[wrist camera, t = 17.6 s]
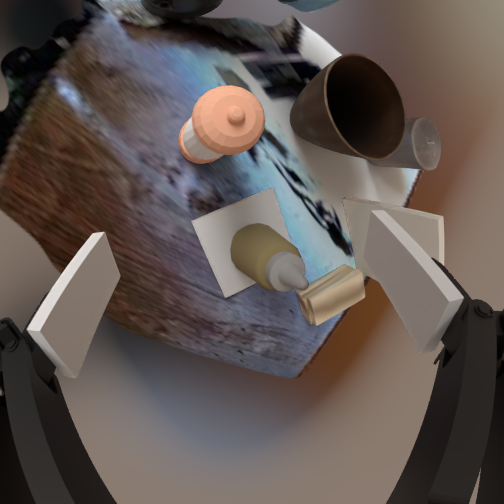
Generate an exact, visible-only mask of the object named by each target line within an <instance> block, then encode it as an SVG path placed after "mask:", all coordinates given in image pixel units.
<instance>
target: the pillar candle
mask: <svg viewBox="0 0 504 504" xmlns="http://www.w3.org/2000/svg"><path fill="white" fill-rule="evenodd" d="M440 153H441V144H440V138H439V134H438V132H437V129H436V127H435V126H434V124H433V123H432V122H431V121H430V120H429V119H427V118H424V117H419V118H406V128H405V134H404V137H403V140H402V143H401V145H400V147H399V148H398V149H397V151H396V152H395V153H394V154H393V155H391V156H390V157H388V158H386V159H383V160H370V159H367V160H368V161H369V162H370V163H372V164H374V165H376V166H384V167H399V168H412V169H422V170H432V169H435V168H436V166H437V163H438V161H439V158H440Z"/></svg>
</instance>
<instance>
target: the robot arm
mask: <svg viewBox="0 0 504 504" xmlns="http://www.w3.org/2000/svg"><path fill="white" fill-rule="evenodd" d="M222 1H223V0H141V2H142V4H143V5H144V7H145V8H146V9H147V10H149V11H150V12H152V13H154V14H156V15H158V16H162V17H166V18H173V19H186V18H193V17H198V16H201V15H204V14H206V13H209V12H211V11H212V10H214V9H215V8H217V7H218V6H219V5H220V4H221V2H222ZM278 1H279V2H281V3H283V4H288V5H290V6H292V7H294V8H295V9H298V10H299V11H302V12H308V13H309V12H316V11H319V10H322V9H324V8H326V7H328V6H330V5H332V4H334V3H335V2H337V1H339V0H278ZM363 258H364V260H365V261H366V263H367V264H368V266H369V267H370V269H371V271H372V272H373V274H374V275H375V277H376V278H377V280H378V282H379V283H380V285H381V286H382V288H383V290H384V291H385V293H386V294H387V296H388V298H389V299H390V301H391V303H392V304H393V306H394V308H395V310H396V311H397V313H398V315H399V316H400V318H401V320H402V322H403V324H404V326H405V327H406V329H407V331H408V333H409V334H410V336H411V338H412V340H413V342H414V344H415V346H416V347H417V350H418V351H419V353H420V355H421V354H424V353H427V352H430V351H433V350H435V349H436V347H437V345H438V344H439V342H440V341H441V340H442V342H443V344H444V347H443V349H442V351H441V352H440V354H439V355H438V357H437V358H436V360H435V361H434V364H436V363H437V362H438V360H440V361H439V365H438V370H437V374H436V379H435V383H434V386H433V390H432V394H431V397H430V401H429V404H428V408H427V411H426V414H425V417H424V420H423V423H422V426H421V429H420V432H419V434H418V437H417V440H416V442H415V445H414V447H413V450H412V452H411V455H410V457H409V459H408V461H407V464H406V466H405V468H404V470H403V472H402V474H401V476H400V478H399V480H398V482H397V484H396V486H395V488H394V490H393V492H392V494H391V496H390V497H389V499H388V501H387V503H386V504H469V501H470V498H471V495H472V493H473V490H474V487H475V484H476V481H477V478H478V475H479V472H480V468H481V473H480V481H479V488H478V494H477V499H476V504H504V309H503V311H493V309H492V308H491V307H490V306H489V305H488V304H487V303H486V302H484V301H482V300H478V299H475V300H472V299H471V298H470V297H469V295H468V294H467V293H466V292H465V290H464V289H463V288H462V287H461V285H460V284H459V283H458V282H457V281H456V279H454V277H453V276H452V275H451V274H450V273H449V272H448V270H447V269H446V268H445V267H444V266H443V264H442V263H440V262H439V261H437V260H436V259H434V258H430V257H429V256H428V254H427V253H426V252H425V251H424V250H423V249H422V248H421V247H420V246H419V245H418V244H417V243H416V242H415V240H414V239H413V238H412V237H411V236H410V235H409V234H408V233H407V232H406V231H405V230H404V229H403V228H402V227H401V226H400V225H399V224H398V223H397V222H396V221H395V220H394V219H393V218H392V217H391V216H390V215H388V214H387V213H386V212H385V211H384V210H371V213H370V219H369V226H368V232H367V238H366V243H365V249H364V254H363ZM119 278H120V273H119V271H118V268H117V265H116V263H115V260H114V257H113V254H112V252H111V249H110V246H109V243H108V240H107V237H106V234H105V232H100V233H93V234H92V235H91V236H90V237H89V239H88V240H87V241H86V242H85V244H84V245H83V246H82V248H81V249H80V250H79V251H78V253H77V254H76V255H75V257H74V258H73V259H72V261H71V262H70V263H69V265H68V266H67V268H66V269H65V270H64V272H63V273H62V275H61V276H60V278H59V279H58V280H57V282H56V283H55V285H54V286H53V288H52V289H51V290H50V291H49V292H48V293H47V294H46V295H45V296H44V298H43V299H42V301H41V302H40V305H38V307H37V308H36V311H35V312H34V313H33V315H32V317H31V319H30V320H29V322H28V323H27V325H26V327H25V329H24V330H23V332H22V333H21V332H20V331H19V329H18V328H17V327H16V325H15V324H14V322H13V321H12V319H10V318H3V319H1V320H0V390H1V391H2V395H1V396H0V504H117V503H116V501H115V500H114V498H113V497H112V495H111V494H110V492H109V491H108V489H107V487H106V486H105V484H104V483H103V481H102V479H101V478H100V476H99V474H98V472H97V470H96V469H95V467H94V465H93V463H92V461H91V460H90V457H89V455H88V453H87V451H86V449H85V447H84V445H83V443H82V441H81V439H80V437H79V434H78V432H77V430H76V428H75V425H74V423H73V420H72V418H71V415H70V413H69V410H68V408H67V405H66V402H65V399H64V397H63V394H62V390H61V387H60V384H59V381H58V379H57V377H56V375H55V374H54V371H55V369H56V368H57V369H58V370H59V371H60V372H61V374H62V375H63V376H66V377H71V378H78V375H79V372H80V369H81V367H82V364H83V361H84V358H85V356H86V353H87V351H88V348H89V345H90V343H91V340H92V338H93V336H94V333H95V331H96V328H97V326H98V324H99V321H100V319H101V317H102V315H103V312H104V310H105V308H106V306H107V303H108V301H109V299H110V297H111V295H112V293H113V291H114V289H115V287H116V284H117V282H118V280H119Z"/></svg>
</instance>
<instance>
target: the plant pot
mask: <svg viewBox="0 0 504 504" xmlns="http://www.w3.org/2000/svg"><path fill="white" fill-rule="evenodd" d="M290 123H291V126H292V128H293V130H294V131H295V133H296V134H297V135H299V136H300V137H301V138H303V139H305V140H307V141H309V142H311V143H313V144H315V145H317V146H320V147H323V148H325V149H328V150H331V151H335V152H338V153H342V154H346V155H350V156H355V157H360V158H365V159H370V160H383V159H386V158H388V157H390V156H391V155H393V154H394V153H395V152H396V151H397V149H398V148H399V147H400V145H401V143H402V140H403V137H404V134H405V128H406V114H405V108H404V103H403V100H402V97H401V94H400V91H399V89H398V87H397V85H396V83H395V82H394V80H393V79H392V77H391V76H390V75H389V73H388V72H387V71H386V70H385V69H384V68H383V67H382V66H381V65H379V64H378V63H377V62H376V61H374V60H372V59H371V58H369V57H366V56H364V55H360V54H353V53H350V54H345V55H342V56H340V57H338V58H337V59H335V60H334V61H332V62H331V63H330V64H329V65H327V66H326V67H325V68H324V69H322V70H321V71H320V72H319V73H318V74H317V75H316V76H315V77H314V78H313V79H312V80H311V81H310V82H309V83H308V84H307V85H306V86H305V88H304V89H303V90H302V92H301V93H300V94H299V96H298V97H297V99H296V101H295V103H294V105H293V107H292V109H291V112H290Z"/></svg>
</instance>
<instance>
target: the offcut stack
mask: <svg viewBox="0 0 504 504" xmlns="http://www.w3.org/2000/svg"><path fill="white" fill-rule="evenodd" d="M296 294H297V298H298V301H299V304H300V307H301V311H302V314H303V316H304V317H305V318H306V319H307V321H308V322H309V323H311V324H313V323H314V324H315V325H316V326H318V325H319V324H321V323H323V322H325V321H326V320H328V319H330V318H332V317H333V316H335V315H337V314H338V313H340V312H342V311H344V310H345V309H347V308H349V307H350V306H352V305H353V304H355V303H357V302H358V301H360V300H362V299H363V298H364V297H365V291H364V280H363V272H362V271H360V270H358V269H356V270H354V269H353V268H351V267H350V266H348V265H346V264H344V265H342V266H340V267H339V268H337V269H335V270H333V271H332V272H330V273H328V274H326V275H324V276H323V277H321V278H319V279H317V280H315V281H314V282H312V283H310V284H309V286H308V288H307V289H306V290H304V291H301V290H297V291H296Z"/></svg>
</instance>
